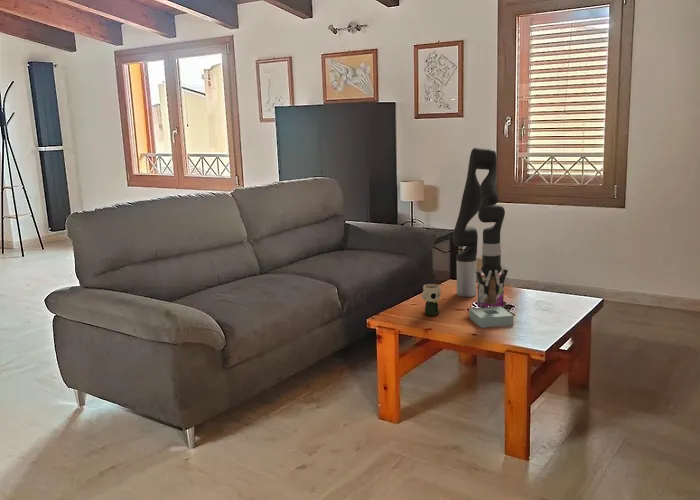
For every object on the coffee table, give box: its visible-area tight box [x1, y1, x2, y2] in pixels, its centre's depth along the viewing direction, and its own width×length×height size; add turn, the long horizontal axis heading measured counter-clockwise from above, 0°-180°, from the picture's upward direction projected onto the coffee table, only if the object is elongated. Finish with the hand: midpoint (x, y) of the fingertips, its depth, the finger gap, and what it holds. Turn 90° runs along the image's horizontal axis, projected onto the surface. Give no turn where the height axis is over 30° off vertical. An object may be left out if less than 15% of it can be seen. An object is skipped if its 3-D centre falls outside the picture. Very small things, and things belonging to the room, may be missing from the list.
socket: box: [468, 306, 515, 329], centre depth 274 cm, size 14×14×4 cm
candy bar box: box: [476, 272, 505, 308], centre depth 290 cm, size 11×5×16 cm, turn 84°
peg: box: [487, 276, 496, 305], centre depth 272 cm, size 4×4×12 cm
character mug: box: [421, 283, 442, 316], centre depth 286 cm, size 11×7×13 cm, turn 127°
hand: (491, 293), depth 272 cm, fingers closed on peg, 3 cm apart
